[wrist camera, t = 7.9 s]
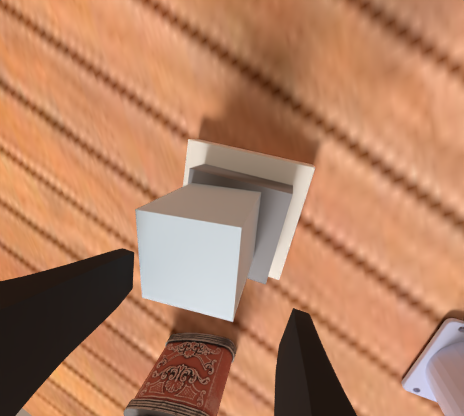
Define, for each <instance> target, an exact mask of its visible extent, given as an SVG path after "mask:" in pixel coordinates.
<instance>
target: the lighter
mask: <svg viewBox="0 0 464 416" xmlns="http://www.w3.org/2000/svg"><path fill="white" fill-rule="evenodd" d="M235 354H236V347H235V345H234V343H233V342H232V341H231V340H229V339H227V338H224V337H220V336H215V335H210V334H202V333H180V334H173V335H171V336H170V337H169V339H168V341H167V342H166V345H165V349H164V350H163V352H162V354H161V355H160V357H159V359H158V360H157V362H156V364H155V365H154V367H153V369H152V370H151V372H150V373H149V375H148V377H147V378H146V380H145V382H144V383H143V385H142V387H141V388H140V390H139V392H138V393H137V395H136V397H135V398H134V399H132V400H131V401H130V402H129V404H128V406H127V407H126V409H125V410H124V416H217V413H218V410H219V406H220V402H221V399H222V395H223V391H224V388H225V384H226V381H227V377H228V373H229V370H230V366H231V363H232V362H233V361H234V358H235Z"/></svg>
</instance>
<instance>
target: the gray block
mask: <svg viewBox="0 0 464 416" xmlns="http://www.w3.org/2000/svg"><path fill="white" fill-rule="evenodd" d="M260 198H261V192H257V191H249V190H242V189H234V188H227V187H219V186H212V185H204V184H197V183H190V184H188V185H186V186H183V187H181V188H179V189H177V190H175V191H173V192H171V193H169V194H167V195H165V196H163V197H160V198H158V199H156V200H154V201H152V202H150V203H148V204H146V205H144V206H142V207H140V208H137V209H135V211H136V224H137V237H138V250H139V263H140V275H141V288H142V298H145V299H149V300H153V301H157V302H160V303H164V304H168V305H172V306H175V307H179V308H183V309H187V310H190V311H194V312H198V313H202V314H205V315H209V316H213V317H217V318H220V319H224V320H228V321H232V322H233V320H234V317H235V314H236V311H237V308H238V305H239V301H240V298H241V295H242V292H243V289H244V286H245V283H246V280H247V276H248V273H249V270H250V267H251V264H252V261H253V257H254V249H255V241H256V232H257V224H258V215H259V207H260Z"/></svg>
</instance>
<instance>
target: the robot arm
mask: <svg viewBox="0 0 464 416" xmlns="http://www.w3.org/2000/svg"><path fill="white" fill-rule="evenodd" d="M133 268H134V252H132V251H129V250H126V249H123V248H122V249H118V250H114V251H110V252H107V253H104V254H100V255H97V256H94V257H91V258H87V259H84V260H81V261H77V262H74V263H71V264H67V265H64V266H60V267H57V268H53V269H49V270H46V271H42V272H38V273H35V274H31V275H27V276H23V277H18V278H14V279H9V280H5V281H0V416H16V414H17V413H18V412H19V411H20V409H21V408H22V407H23V406H24V405H25V404H26V402H27V401H28V400H29V399H30V398H31V397H32V395H33V394H34V393H35V392H36V391H37V389H38V388H39V387H40V386H41V385H42V384H43V383H44V382H45V380H46V379H47V378H48V377H49V376H50V375H51V374H52V372H53V371H54V370H55V369H56V368H57V367H58V366H59V365H60V364H61V362H62V361H63V360H64V359H65V358H66V357H67V356H68V355H69V354H70V353H71V352H72V351H73V350H74V349H75V348H76V347H77V346H78V345H79V344H80V343H82V342H83V341H84V340H85V339H86V338H87V337H88V336H89V335H90V334H91V333H92V332H93V331H94V330H95V329H96V328H97V327H98V326H99V325H100V324H101V323H102V322H103V321H104V320H105V319H106V318H107V317H108V316H109V315H110V314H111V313H112V312H113V311H114V310H115V309H116V308H117V307H118V306H119V305H120V304H121V302H122V301H123V300H124V299H125V297H126V296H127V295H128V294H129V292H130V291H131V290H132V288H133ZM460 327H462V328H460ZM402 386H403V388H404V389H405V390H407V391H409V392H411V393H414V394H417V395H419V396H422V397H425V398H427V399H430V400H433V401H435V402H438V404H439V406H440V408H441V409H442V411H443V413H444V415H445V416H464V321H462V320H459V319H456V318H448V319H446V320H445V321H444V322H443V324H442V325H441V327H440V328H439V330H438V331H437V332H436V334H435V335H434V337H433V338H432V339H431V341H430V342H429V344H428V345H427V346H426V348H425V349H424V351H423V352H422V354H421V355H420V356H419V358H418V359H417V361H416V362H415V363H414V365H413V366H412V368H411V369H410V371H409V372H408V373H407V375H406V376H405V378H404V379H403V380H402ZM274 416H357V415H356V413H355V411H354V409H353V407H352V405H351V403H350V402H349V400H348V398H347V396H346V394H345V392H344V390H343V388H342V386H341V384H340V382H339V380H338V378H337V376H336V374H335V372H334V369H333V367H332V365H331V363H330V361H329V359H328V357H327V354H326V352H325V350H324V348H323V345H322V343H321V341H320V338H319V336H318V334H317V331H316V329H315V326H314V324H313V321H312V319H311V317H310V315H309V314H308V313H306V312H303V311H300V310H297V309H294V308H293V310H292V313H291V315H290V318H289V321H288V323H287V326H286V328H285V331H284V334H283V336H282V339H281V342H280V344H279V350H278V358H277V365H276V375H275V407H274Z"/></svg>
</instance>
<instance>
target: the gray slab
mask: <svg viewBox="0 0 464 416" xmlns="http://www.w3.org/2000/svg"><path fill="white" fill-rule="evenodd" d="M190 183H197V184H204V185H212V186H219V187H227V188H234V189H242V190H249V191H257V192H261V198H260V207H259V215H258V224H257V232H256V241H255V249H254V257H253V261H252V264H251V267H250V270H249V273H248V276H247V278H248V279H251V280H254V281H257V282H260V283H263V284H266V281H267V278H268V275H269V271H270V268H271V265H272V261H273V258H274V255H275V252H276V248H277V245H278V242H279V238H280V235H281V232H282V228H283V225H284V222H285V218H286V215H287V212H288V208H289V205H290V202H291V199H292V195H293V185H289V184H285V183H281V182H277V181H273V180H269V179H265V178H261V177H257V176H252V175H248V174H244V173H240V172H236V171H232V170H228V169H224V168H220V167H216V166H212V165H208V164H202V165H198V166H195V167H192V168H190V169H189V177H188V184H190Z"/></svg>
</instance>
